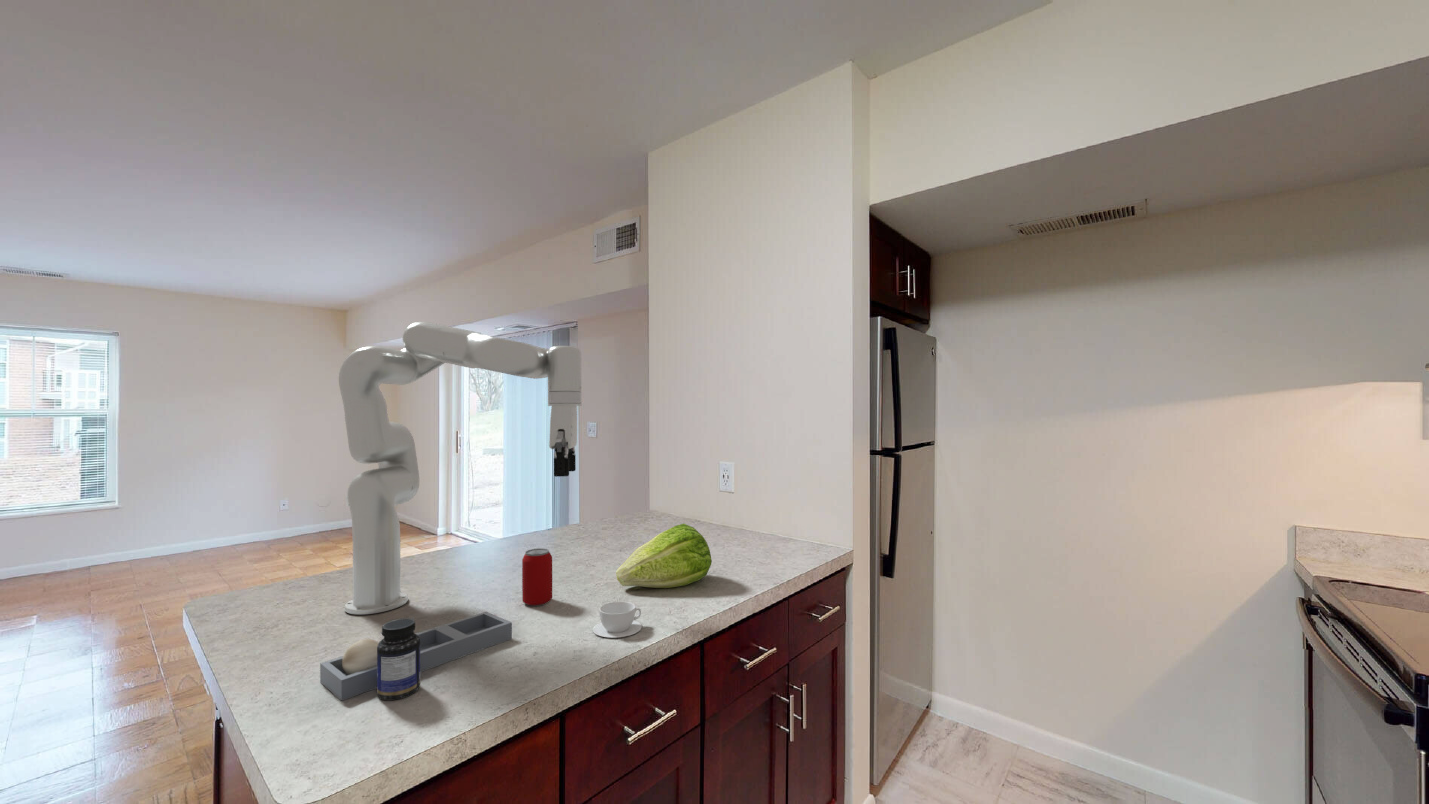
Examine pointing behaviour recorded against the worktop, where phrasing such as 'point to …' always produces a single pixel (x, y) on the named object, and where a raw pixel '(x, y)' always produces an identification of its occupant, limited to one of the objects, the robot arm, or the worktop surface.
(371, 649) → the potato
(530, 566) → the beverage can
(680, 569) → the lettuce
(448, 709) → the worktop surface
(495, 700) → the worktop surface
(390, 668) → the pill bottle
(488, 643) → the well holder
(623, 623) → the teacup
